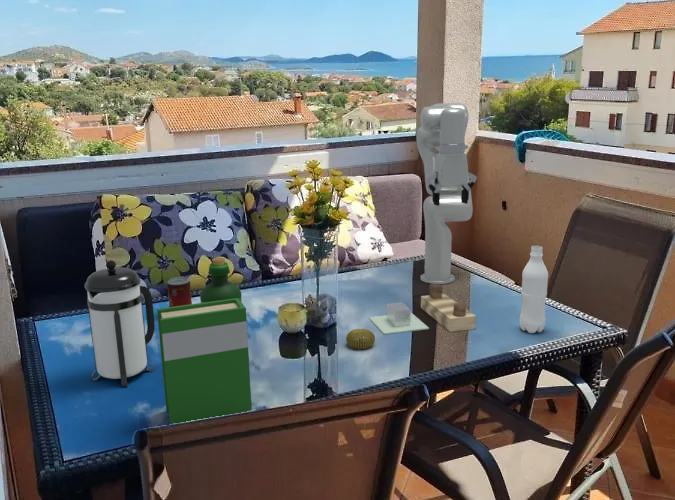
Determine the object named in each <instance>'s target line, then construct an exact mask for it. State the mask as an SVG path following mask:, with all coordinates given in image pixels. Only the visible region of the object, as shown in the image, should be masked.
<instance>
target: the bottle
mask: <svg viewBox="0 0 675 500" xmlns="http://www.w3.org/2000/svg"><path fill="white" fill-rule="evenodd" d="M225 260H226V258H225V257H214V258H211V261H212V262H211V263H209V266H208V275H209V276H210V277H211V282H210V283H208V284H206V286H204V287H203V288H202V290H201V291H200V293H199V297H200V298H199V299H200V303H205V302H212V301H219V300H226V299H234V298H238V299H239V300H240V301H241V302H242V291H241V288H240V287H239V286H238V285H236V284H235V283H233V282H231V281H229V274H230V273H231V271H230V267H229V264H228V262H227V261H225Z"/></svg>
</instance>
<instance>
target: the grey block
mask: <svg viewBox="0 0 675 500" xmlns="http://www.w3.org/2000/svg"><path fill="white" fill-rule="evenodd" d="M411 313H412V311H411V308H410V307H408V306H407V305H406V304H405V303H404V302H401V301H400V302H393V303H391V302H390V303H386V315H387V320H388V321H389V322H390V323H391V324H392V325H393V326H394V327H401V326H409V325H410V323H411Z"/></svg>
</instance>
